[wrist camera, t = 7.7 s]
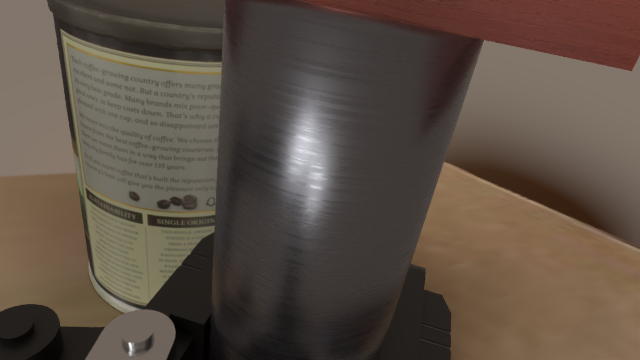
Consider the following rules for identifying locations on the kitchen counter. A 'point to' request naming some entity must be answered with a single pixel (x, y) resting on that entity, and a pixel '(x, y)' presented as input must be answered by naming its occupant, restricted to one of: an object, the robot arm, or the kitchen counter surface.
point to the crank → (353, 152)
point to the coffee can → (142, 134)
